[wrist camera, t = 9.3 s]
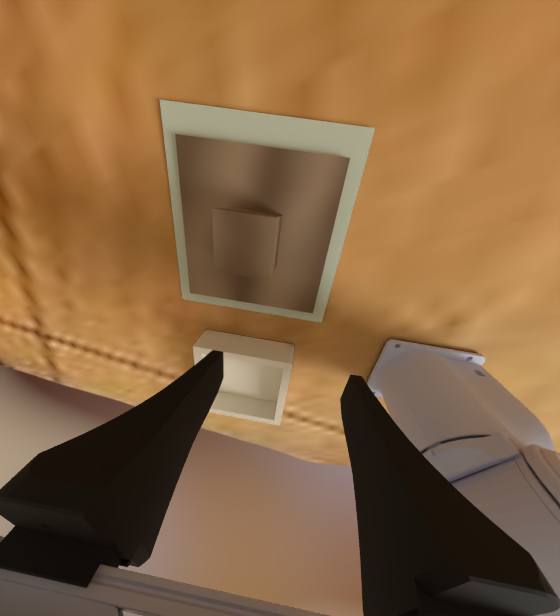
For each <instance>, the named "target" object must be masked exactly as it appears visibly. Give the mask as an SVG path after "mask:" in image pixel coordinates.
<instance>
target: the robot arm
mask: <svg viewBox="0 0 560 616" xmlns="http://www.w3.org/2000/svg"><path fill="white" fill-rule="evenodd" d="M397 344H399V345H397ZM395 345H397V346H395ZM485 360H486V358H485V357H484V356H483V355H481V354H476V353H471V352H465V351H459V350H453V349H447V348H441V347H436V346H430V345H424V344H418V343H412V342H406V341H400V340H395V339H390V340H388V341H387V342H386V344H385V346H384V348H383V350H382V352H381V354H380V357H379V359H378V361H377V363H376V365H375V367H374V369H373V371H372V373H371V375H370V377H369V379H368V381H367V383H366V382H365V381H364V379H363V378H362V376H356V375H350V377H349V379H348V382H347V384H346V387H345V389H344V391H343V394H342V396H341V399H340V401H341V414H342V421H343V427H344V432H345V437H346V442H347V447H348V452H349V457H350V462H351V467H352V474H353V482H354V491H355V500H356V511H357V521H358V532H359V547H360V560H361V579H362V600H363V614H364V616H560V453H558V452H556V451H555V447H554V444H553V441H552V439H551V437H550V435H549V433H548V431H547V430H546V428H545V427H544V425H543V424H542V423H541V421H540V420H539V419H538V418H537V417H536V416H535V415H534V414H533V413H532V412H531V411H530V410H529V409H528V408H526V407H525V406H524V405H523V404H522V403H521V402H520V401H519V400H518V399H517V398H516V397H515V396H513V395H512V394H511V393H510V392H509V391H508V390H507V389H506V388H505V387H504V386H503V385H502V384H500V383H499V382H498V381H497V380H496V379H495V378H494V377H493V376H492V375H491V374H490V373H489V372H487V371H486V370H485V369H484V368H483V367H482V366H481V365H482V364H483V363H484V361H485ZM223 378H224V356H223V352H222V351H216V350H212V351H211V352H210V353H208V354H207V355H206V356H205V357H204V358H203V359H201V360H200V361H199V362H198V363H197V364H195V365H194V366H193V367H192V368H191V369H189V370H188V371H187V372H186V373H184V374H183V375H182V376H180V377H179V378H178V379H176V380H175V381H174V382H172V383H171V384H170V385H168V386H167V387H166V388H164V389H163V390H161V391H160V392H158V393H157V394H155V395H154V396H152V397H151V398H149V399H147V400H146V401H144V402H143V403H141V404H139V405H137V406H136V407H134V408H132V409H131V410H129V411H127V412H125V413H124V414H122V415H120V416H118V417H116V418H114V419H112V420H111V421H109V422H107V423H105V424H103V425H101V426H99V427H97V428H95V429H93V430H91V431H88V432H86V433H84V434H82V435H80V436H78V437H76V438H73V439H71V440H69V441H67V442H64V443H62V444H60V445H57V446H55V447H53V448H51V449H48V450H46V451H43V452H41V453H39V454H38V455H37V456H36V457H35V458H33V460H31V461H30V462H29V463H28V464H27V465H26V466H25V467H24V468H23V469H21V471H19V472H18V473H17V474H16V475H15V476H14V477H13V478H12V479H11V480H10V481H9V482H8V483H7V484H6V485H5V486H3V487H2V488H1V489H0V515H1V516H2V517H4V518H5V519H7V520H8V521H10V522H11V523H12V524H14V525H15V527H14V528H13V529H12V530H11V531H10V532H9V534H8V535H7V536H6V537H5V538H4V537H2V536H0V616H124V615H123V612H122V611H125V612H130V613H134V614H138V615H143V616H329V615H324V614H320V613H315V612H310V611H306V610H302V609H297V608H293V607H288V606H284V605H279V604H275V603H271V602H266V601H262V600H257V599H252V598H248V597H244V596H239V595H235V594H230V593H226V592H222V591H217V590H213V589H208V588H203V587H199V586H195V585H190V584H186V583H181V582H177V581H172V580H168V579H164V578H159V577H155V576H150V575H146V574H141V573H137V572H132V571H128V570H124V569H119V568H118V566H119V565H120V566H125V567H128V566H129V565H132V566H136V567H139V566H141V565H142V564H143V563H145V562H146V561H147V560H148V559H149V558H150V556H151V554H152V550H153V548H154V545H155V542H156V539H157V536H158V534H159V531H160V528H161V525H162V522H163V519H164V517H165V514H166V511H167V508H168V506H169V503H170V500H171V498H172V495H173V492H174V490H175V487H176V484H177V482H178V479H179V477H180V474H181V472H182V469H183V467H184V464H185V462H186V459H187V457H188V454H189V451H190V449H191V447H192V444H193V442H194V440H195V438H196V436H197V434H198V432H199V430H200V428H201V426H202V424H203V422H204V420H205V418H206V416H207V414H208V412H209V410H210V408H211V406H212V404H213V402H214V400H215V398H216V396H217V394H218V391H219V389H220V386H221V383H222V381H223ZM376 397H380V398H383V399H384V401H385V404H386V406H387V409H388V411H389V414H390V415H389V414H388V413H387V411H386V410H385V409H384V407H383V406H382V405H381V403H380V402H379V401H378V399H377V398H376ZM390 416H391V417H390Z"/></svg>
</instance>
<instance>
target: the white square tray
mask: <svg viewBox="0 0 560 616" xmlns="http://www.w3.org/2000/svg"><path fill="white" fill-rule="evenodd" d="M212 350H216V351H222V352H223V356H224V378H223V381H222V383H221V386H220V389H219V391H218V394H217V396H216V398H215V400H214V402H213V404H212V406H211V408H210V410H209V412H211V413H217V414H222V415H227V416H232V417H237V418H243V419H248V420H253V421H258V422H264V423H269V424H274V425H279V426H280V422H281V417H282V413H283V408H284V404H285V399H286V394H287V390H288V385H289V380H290V376H291V371H292V367H293V358H294V345H293V344H287V343H281V342H276V341H270V340H264V339H259V338H253V337H247V336H241V335H236V334H230V333H224V332H219V331H213V330H207V329H206V330H205V331H204V333H203V334H202V335H201V336H200V338H199V339H198V340H197V341H196V343H195V344H194V345H193V354H194V364H197V363H198V362H199V361H200V360H201V359H203V358H204V357H205V356H206V355H207V354H208V353H210V352H211V351H212Z"/></svg>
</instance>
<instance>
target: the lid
mask: <svg viewBox="0 0 560 616" xmlns="http://www.w3.org/2000/svg"><path fill="white" fill-rule="evenodd" d="M175 138H176V149H177V160H178V170H179V181H180V192H181V202H182V213H183V224H184V234H185V245H186V256H187V266H188V277H189V288H190V293H193V294H199V295H205V296H211V297H217V298H223V299H229V300H235V301H241V302H247V303H253V304H259V305H265V306H271V307H277V308H283V309H289V310H295V311H301V312H306V313H312V314H313V311H314V307H315V303H316V299H317V294H318V290H319V286H320V282H321V278H322V274H323V269H324V265H325V261H326V257H327V253H328V249H329V244H330V240H331V236H332V232H333V228H334V224H335V219H336V215H337V211H338V207H339V203H340V199H341V194H342V190H343V186H344V182H345V178H346V174H347V169H348V165H349V161H350V158H347V157H340V156H333V155H326V154H318V153H311V152H304V151H296V150H289V149H282V148H274V147H267V146H260V145H253V144H245V143H238V142H231V141H223V140H216V139H209V138H202V137H194V136H187V135H180V134H175Z"/></svg>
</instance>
